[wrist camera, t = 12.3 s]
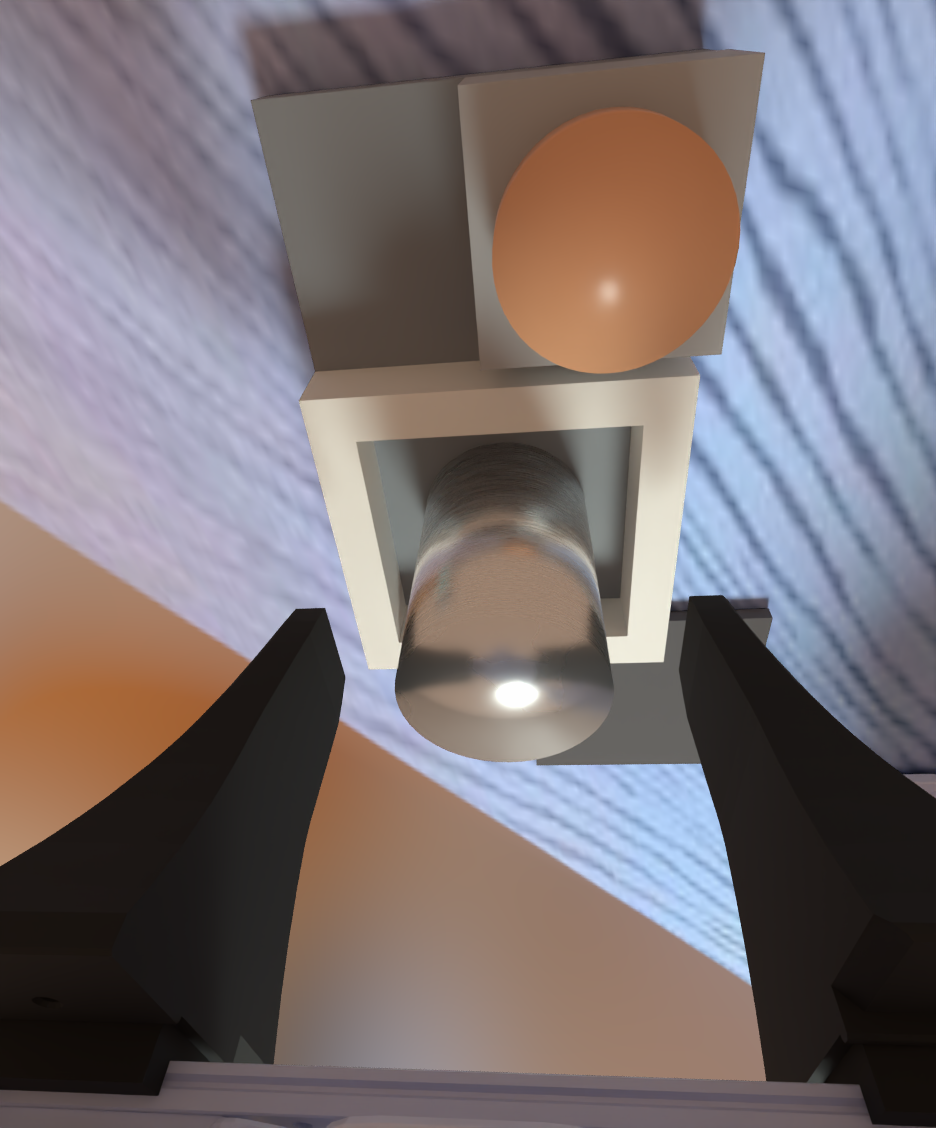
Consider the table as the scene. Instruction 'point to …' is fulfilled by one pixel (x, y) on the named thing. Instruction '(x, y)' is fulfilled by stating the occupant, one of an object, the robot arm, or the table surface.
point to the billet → (505, 611)
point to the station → (479, 319)
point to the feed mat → (649, 708)
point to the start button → (614, 240)
